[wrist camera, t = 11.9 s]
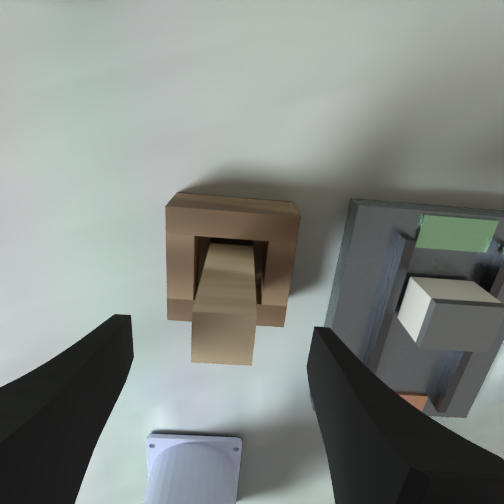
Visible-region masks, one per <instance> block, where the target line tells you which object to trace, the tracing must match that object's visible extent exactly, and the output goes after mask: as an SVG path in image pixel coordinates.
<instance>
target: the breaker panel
mask: <svg viewBox="0 0 504 504" xmlns="http://www.w3.org/2000/svg"><path fill="white" fill-rule="evenodd" d="M410 277H422V278H436V279H451V280H465V281H474V282H475V283H476V284H478V285H479V286H480V287H481V288H483V289H484V290H485V291H487V292H488V293H489V294H491V295H492V296H493V297H495V298H496V299H497V300H499V301H500V302H501V303H503V304H504V211H495V210H482V209H470V208H458V207H446V206H434V205H422V204H410V203H398V202H385V201H373V200H361V199H351V202H350V206H349V211H348V216H347V221H346V225H345V230H344V235H343V240H342V244H341V249H340V254H339V259H338V263H337V268H336V273H335V278H334V282H333V287H332V292H331V297H330V301H329V306H328V311H327V316H326V320H325V325H324V327H330V328H331V329H332V330H333V332H334V333H335V334H336V335H337V336H338V337H339V338H340V339H341V340H342V341H343V343H344V344H345V345H346V346H347V347H348V348H349V349H350V350H351V351H352V352H353V353H354V354H355V355H356V356H357V358H358V359H359V360H360V361H361V362H362V363H363V364H364V365H365V366H366V367H367V368H368V369H370V370H371V371H372V372H373V373H374V374H375V375H376V376H377V377H378V378H379V379H380V380H381V381H383V382H384V383H385V384H386V385H387V386H388V387H390V388H391V389H392V390H393V391H395V392H396V393H397V394H398V395H400V396H401V397H402V398H403V399H405V400H406V401H407V402H409V403H410V404H411V405H413V406H414V407H416V408H417V409H419V410H420V411H421V412H423V413H424V414H426V415H427V416H441V417H461V418H466V417H467V415H468V412H469V410H470V408H471V406H472V404H473V402H474V400H475V398H476V396H477V394H478V392H479V390H480V388H481V385H482V383H483V381H484V379H485V377H486V375H487V373H488V371H489V369H490V367H491V365H492V363H493V361H494V359H495V356H496V354H497V352H498V350H499V348H500V346H501V344H502V342H503V340H504V319H503V321H502V323H501V325H500V328H499V330H498V332H497V334H496V336H495V338H494V340H493V343H492V345H491V347H490V349H489V351H488V353H487V352H470V351H453V350H436V349H420V348H419V347H418V345H417V344H416V343H415V341H414V340H413V339H412V337H411V336H410V334H409V333H408V332H407V330H406V329H405V327H404V326H403V325H402V323H401V322H400V321H399V319H398V318H397V317H398V314H399V311H400V307H401V304H402V301H403V298H404V295H405V291H406V288H407V285H408V282H409V279H410ZM310 397H311V393H310ZM311 402H312V406H313V410H315V408H314V404H313V400H312V397H311Z"/></svg>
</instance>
